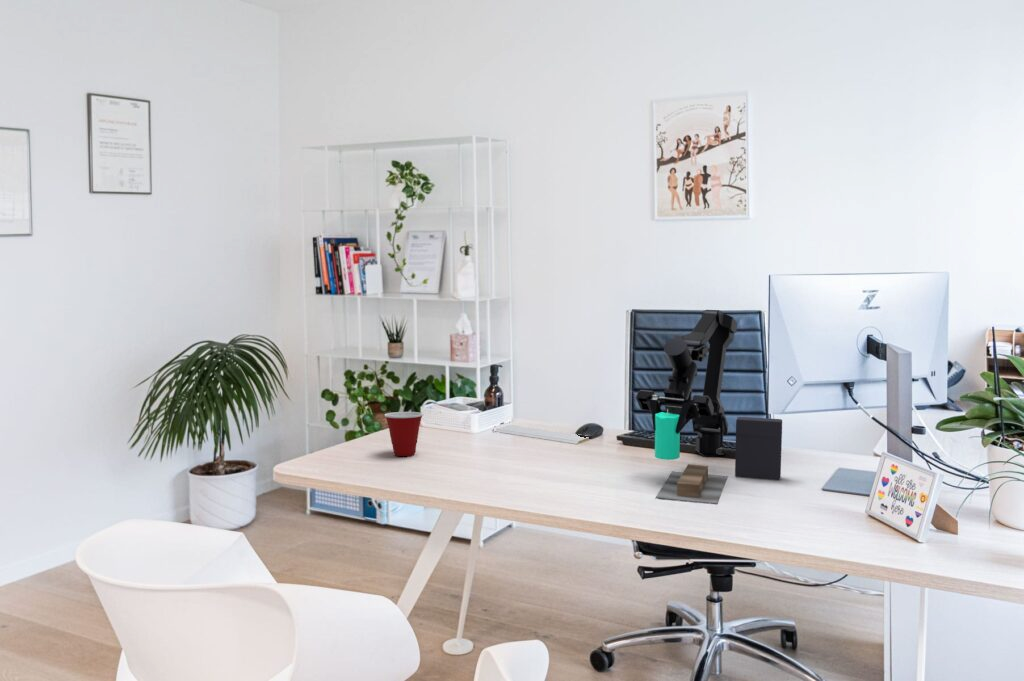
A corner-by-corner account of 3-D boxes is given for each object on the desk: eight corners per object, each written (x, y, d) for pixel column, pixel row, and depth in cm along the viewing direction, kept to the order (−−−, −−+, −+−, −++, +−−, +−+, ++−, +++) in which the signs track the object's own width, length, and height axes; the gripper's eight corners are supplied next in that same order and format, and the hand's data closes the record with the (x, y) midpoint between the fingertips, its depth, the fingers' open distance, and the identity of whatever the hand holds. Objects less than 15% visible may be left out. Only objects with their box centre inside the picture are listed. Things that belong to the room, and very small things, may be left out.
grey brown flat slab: (671, 472, 226) (672, 459, 225) (727, 477, 221) (727, 464, 221) (655, 498, 203) (655, 484, 203) (717, 504, 199) (717, 490, 198)
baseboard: (574, 447, 256) (591, 441, 264) (574, 438, 255) (591, 431, 263) (491, 434, 273) (509, 429, 281) (491, 425, 273) (509, 420, 281)
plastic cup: (425, 449, 252) (424, 408, 250) (422, 459, 241) (421, 416, 239) (387, 450, 251) (386, 409, 250) (383, 459, 240) (382, 416, 239)
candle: (650, 455, 217) (650, 407, 215) (671, 452, 219) (671, 405, 218) (662, 460, 211) (663, 412, 210) (684, 458, 214) (684, 410, 212)
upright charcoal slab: (780, 476, 221) (782, 418, 219) (780, 481, 217) (781, 421, 215) (736, 473, 225) (737, 415, 223) (734, 477, 221) (736, 419, 219)
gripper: (724, 401, 222) (709, 453, 214) (654, 395, 232) (638, 444, 224) (715, 375, 214) (700, 428, 206) (643, 370, 224) (626, 420, 216)
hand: (665, 431), depth 213 cm, fingers closed on candle, 5 cm apart
